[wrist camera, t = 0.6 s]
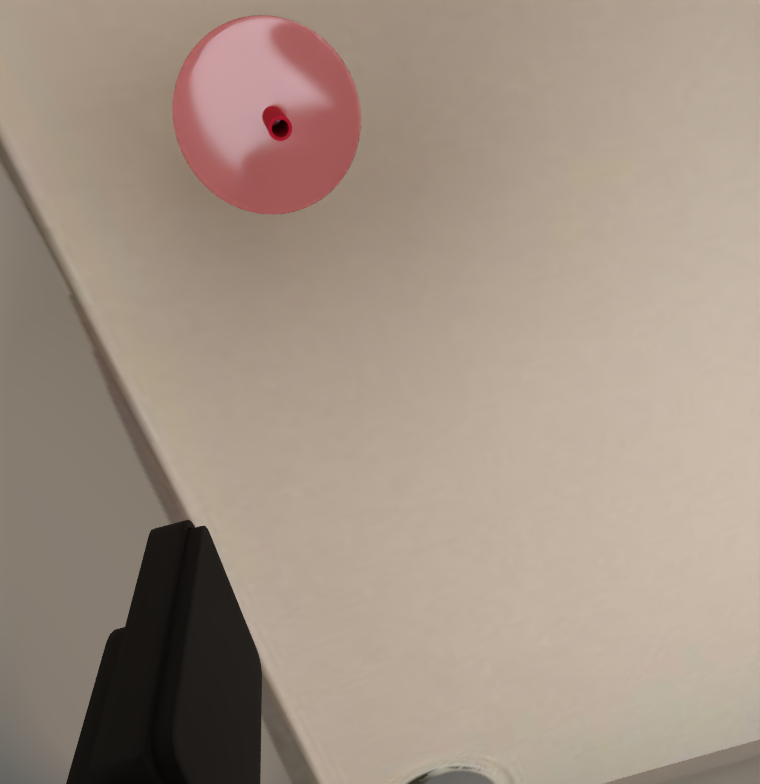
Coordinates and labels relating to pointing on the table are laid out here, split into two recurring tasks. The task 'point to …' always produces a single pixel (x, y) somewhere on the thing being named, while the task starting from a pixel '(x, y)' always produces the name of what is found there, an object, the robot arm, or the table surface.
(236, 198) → the cup
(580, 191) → the table surface
